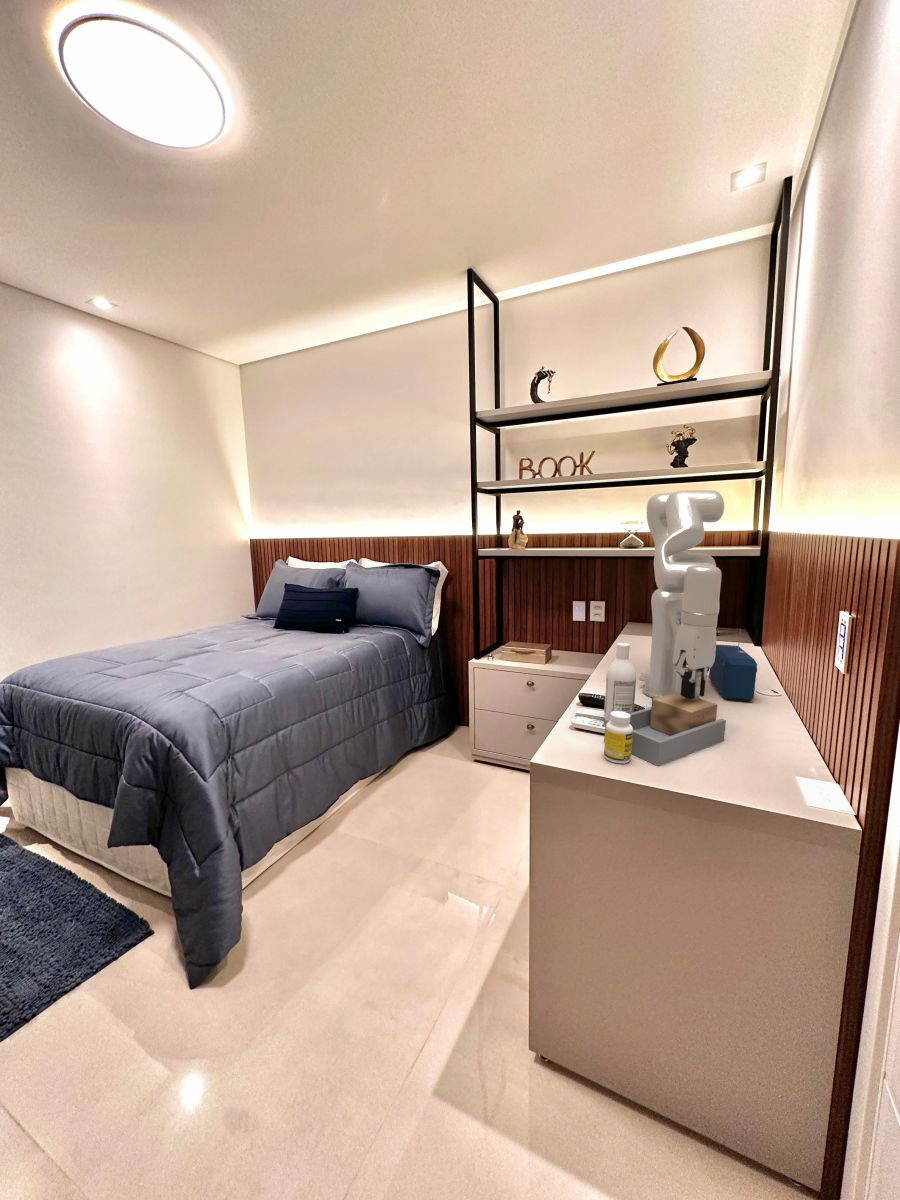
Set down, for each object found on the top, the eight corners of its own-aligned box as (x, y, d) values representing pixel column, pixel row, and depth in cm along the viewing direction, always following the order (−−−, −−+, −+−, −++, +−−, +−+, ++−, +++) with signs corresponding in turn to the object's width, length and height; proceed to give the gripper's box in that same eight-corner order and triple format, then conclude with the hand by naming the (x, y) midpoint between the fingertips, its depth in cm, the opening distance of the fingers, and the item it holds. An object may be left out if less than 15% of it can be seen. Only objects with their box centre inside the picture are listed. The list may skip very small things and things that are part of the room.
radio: (757, 704, 140) (765, 634, 137) (723, 701, 142) (729, 631, 139) (737, 682, 160) (743, 620, 157) (707, 679, 162) (712, 618, 159)
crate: (649, 727, 120) (654, 670, 118) (675, 718, 125) (679, 664, 123) (689, 742, 111) (694, 681, 109) (714, 733, 117) (720, 675, 115)
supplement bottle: (627, 766, 102) (630, 721, 101) (600, 760, 105) (603, 715, 104) (633, 756, 107) (636, 712, 106) (607, 750, 110) (610, 707, 108)
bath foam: (639, 724, 124) (644, 645, 121) (618, 729, 121) (623, 648, 118) (618, 715, 131) (623, 639, 128) (597, 719, 128) (602, 642, 125)
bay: (604, 740, 115) (605, 720, 114) (669, 720, 127) (670, 701, 127) (658, 766, 103) (659, 743, 102) (723, 740, 116) (725, 720, 115)
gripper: (704, 614, 123) (697, 686, 126) (662, 619, 115) (656, 697, 118) (734, 619, 117) (727, 694, 120) (693, 625, 109) (686, 707, 111)
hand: (692, 695), depth 119 cm, fingers closed on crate, 3 cm apart
